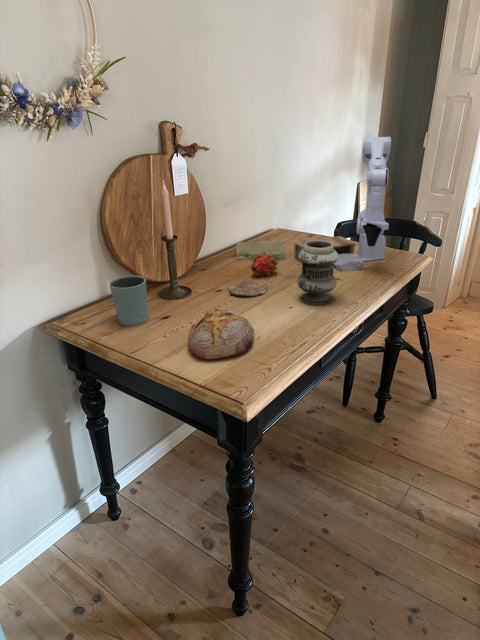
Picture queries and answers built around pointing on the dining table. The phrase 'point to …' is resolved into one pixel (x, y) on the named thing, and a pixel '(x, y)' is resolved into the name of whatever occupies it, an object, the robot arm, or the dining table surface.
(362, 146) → the robot arm
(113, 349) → the dining table surface
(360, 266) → the stone block
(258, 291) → the shell
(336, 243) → the oak shelf
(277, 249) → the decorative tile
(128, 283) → the teal cup
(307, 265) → the apothecary jar
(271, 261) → the dragon fruit
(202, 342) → the bread
